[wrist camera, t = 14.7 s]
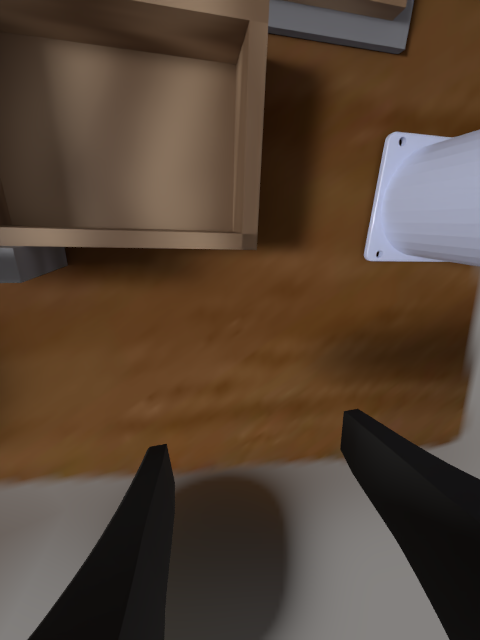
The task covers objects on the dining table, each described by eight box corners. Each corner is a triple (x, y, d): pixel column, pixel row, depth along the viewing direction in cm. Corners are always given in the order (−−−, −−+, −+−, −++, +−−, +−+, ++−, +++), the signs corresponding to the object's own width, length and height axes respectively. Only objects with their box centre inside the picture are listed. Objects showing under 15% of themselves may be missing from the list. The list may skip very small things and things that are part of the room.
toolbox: (250, 17, 14) (306, -169, 7) (242, 266, 19) (272, 292, 12) (-212, -63, 11) (-883, -536, 4) (-87, 264, 15) (-307, 299, 8)
